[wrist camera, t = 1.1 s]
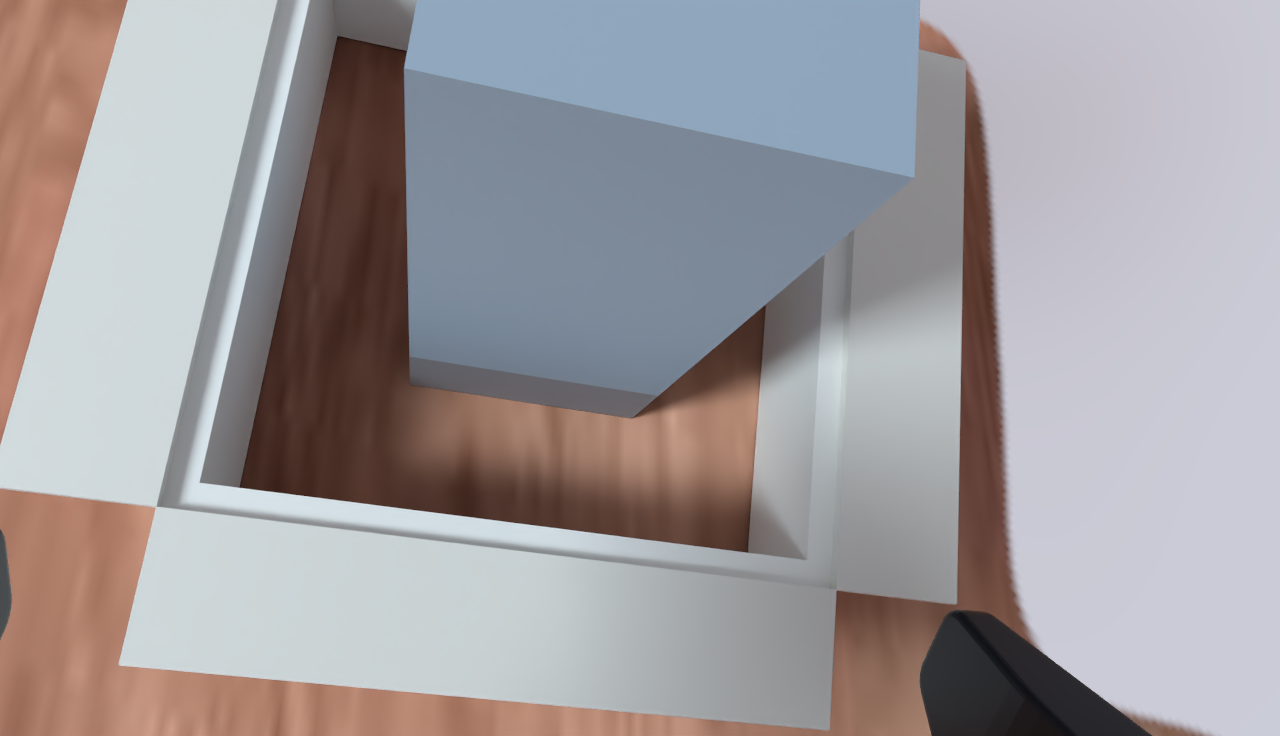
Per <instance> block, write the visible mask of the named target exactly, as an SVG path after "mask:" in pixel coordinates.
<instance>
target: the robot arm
mask: <svg viewBox="0 0 1280 736" xmlns="http://www.w3.org/2000/svg"><path fill="white" fill-rule="evenodd" d="M11 604H12V594H11V585H10V577H9V568H8V559H7V550H6V542H5V537H4V534H3V533H2V531H1V529H0V639H1V637H2V635H3V633H4V630H5V628H6V625H7V623H8V619H9V616H10V611H11ZM920 688H921V693H922V698H923V702H924V706H925V710H926V714H927V718H928V722H929V727H930V731H931V735H932V736H1152V735H1150V734H1149V733H1148V732H1146V731H1145V730H1144V729H1142V728H1141V727H1140V726H1138V725H1137V724H1136V723H1134V722H1133V721H1132V720H1130V719H1129V718H1128V717H1126V716H1125V715H1124V714H1123V713H1121V712H1120V711H1119V710H1117V709H1116V708H1115V707H1113V706H1112V705H1111V704H1109V703H1108V702H1107V701H1105V700H1104V699H1103V698H1101V697H1100V696H1099V695H1097V694H1096V693H1095V692H1093V691H1092V690H1091V689H1089V688H1088V687H1087V686H1085V685H1084V684H1083V683H1081V682H1080V681H1079V680H1077V679H1076V678H1075V677H1073V676H1072V675H1071V674H1070V673H1068V672H1067V671H1066V670H1064V669H1063V668H1062V667H1060V666H1059V665H1058V664H1056V663H1055V662H1054V661H1052V660H1051V659H1050V658H1048V657H1047V656H1046V655H1044V654H1043V653H1042V652H1040V651H1039V650H1038V649H1036V648H1035V647H1034V646H1033V645H1031V644H1030V643H1029V642H1027V641H1026V640H1025V639H1023V638H1022V637H1021V636H1019V635H1018V634H1017V633H1015V632H1014V631H1013V630H1011V629H1010V628H1009V627H1007V626H1006V625H1005V624H1003V623H1002V622H1001V621H999V620H998V619H997V618H995V617H994V616H993V615H991V614H989V613H985V612H978V611H967V610H954V611H951V612H949V613H948V614H947V615H946V616H945V617H944V619H943V621H942V623H941V625H940V627H939V629H938V632H937V634H936V636H935V638H934V640H933V642H932V645H931V647H930V649H929V651H928V653H927V655H926V657H925V660H924V662H923V664H922V667H921V672H920Z"/></svg>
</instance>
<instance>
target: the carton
mask: <svg viewBox="0 0 1280 736" xmlns="http://www.w3.org/2000/svg"><path fill="white" fill-rule="evenodd" d="M416 3H417V0H128V2H127V6H126V9H125V13H124V16H123V20H122V23H121V27H120V30H119V34H118V37H117V41H116V44H115V48H114V51H113V55H112V58H111V62H110V65H109V69H108V72H107V76H106V79H105V82H104V86H103V89H102V93H101V96H100V100H99V103H98V107H97V110H96V114H95V117H94V121H93V124H92V128H91V131H90V135H89V138H88V142H87V145H86V149H85V152H84V156H83V159H82V163H81V166H80V170H79V173H78V177H77V180H76V184H75V187H74V191H73V194H72V198H71V201H70V205H69V208H68V211H67V215H66V218H65V222H64V225H63V229H62V232H61V236H60V239H59V243H58V246H57V250H56V253H55V257H54V260H53V264H52V267H51V271H50V274H49V278H48V281H47V285H46V288H45V292H44V295H43V299H42V302H41V306H40V309H39V313H38V316H37V320H36V323H35V327H34V330H33V334H32V337H31V340H30V344H29V347H28V351H27V354H26V358H25V361H24V365H23V368H22V372H21V375H20V379H19V382H18V386H17V389H16V393H15V396H14V400H13V403H12V407H11V410H10V414H9V417H8V421H7V424H6V428H5V431H4V435H3V438H2V442H1V445H0V489H7V490H15V491H23V492H32V493H40V494H48V495H56V496H64V497H73V498H81V499H89V500H97V501H105V502H114V503H122V504H130V505H138V506H146V507H155V508H156V510H155V514H154V519H153V523H152V527H151V531H150V535H149V539H148V544H147V548H146V552H145V556H144V560H143V565H142V569H141V573H140V577H139V581H138V586H137V590H136V594H135V598H134V602H133V606H132V611H131V615H130V619H129V623H128V627H127V632H126V636H125V640H124V644H123V648H122V653H121V657H120V661H119V665H121V666H132V667H142V668H153V669H164V670H175V671H186V672H197V673H208V674H219V675H230V676H241V677H251V678H262V679H273V680H284V681H295V682H306V683H317V684H328V685H339V686H350V687H360V688H371V689H382V690H393V691H404V692H415V693H426V694H437V695H448V696H459V697H469V698H480V699H491V700H502V701H513V702H524V703H535V704H546V705H557V706H568V707H578V708H589V709H600V710H611V711H622V712H633V713H644V714H655V715H666V716H677V717H687V718H698V719H709V720H720V721H731V722H742V723H753V724H764V725H775V726H786V727H796V728H807V729H818V730H829V731H830V712H831V692H832V672H833V652H834V631H835V611H836V591H843V592H851V593H859V594H868V595H876V596H884V597H892V598H900V599H908V600H917V601H925V602H933V603H941V604H957V572H958V513H959V454H960V395H961V336H962V277H963V218H964V159H965V100H966V61H965V60H961V59H957V58H953V57H949V56H944V55H940V54H936V53H932V52H928V51H924V50H920V49H919V51H918V83H917V114H916V145H915V177H914V179H912V180H911V181H910V182H909V183H908V184H906V185H905V186H904V187H903V188H902V189H901V190H899V191H898V192H897V193H896V194H895V195H894V196H892V197H891V198H890V199H889V200H888V201H887V202H885V203H884V204H883V205H882V206H881V207H879V208H878V209H877V210H876V211H875V212H874V213H872V214H871V215H870V216H869V217H868V218H867V219H865V220H864V221H863V222H862V223H861V224H860V225H858V226H857V227H856V228H855V229H854V230H852V231H851V232H850V233H849V234H848V235H847V236H845V237H844V238H843V239H842V240H841V241H840V242H838V243H837V244H836V245H835V246H834V247H833V248H831V249H830V250H829V251H828V252H827V253H825V254H824V255H823V256H822V257H821V258H820V259H818V260H817V261H816V262H815V263H814V264H813V265H811V266H810V267H809V268H808V269H807V270H806V271H804V272H803V273H802V274H801V275H800V276H798V277H797V278H796V279H795V280H794V281H793V282H791V283H790V284H789V285H788V286H787V287H786V288H784V289H783V290H782V291H781V292H780V293H779V294H777V295H776V296H775V297H774V298H773V299H771V300H770V301H769V302H768V303H767V304H766V313H765V326H764V340H763V353H762V367H761V380H760V394H759V407H758V420H757V434H756V447H755V461H754V474H753V488H752V501H751V515H750V528H749V541H748V553H746V552H738V551H730V550H723V549H715V548H707V547H699V546H691V545H683V544H676V543H668V542H660V541H652V540H644V539H636V538H629V537H621V536H613V535H605V534H597V533H590V532H582V531H574V530H566V529H558V528H550V527H543V526H535V525H527V524H519V523H511V522H503V521H496V520H488V519H480V518H472V517H464V516H456V515H449V514H441V513H433V512H425V511H417V510H410V509H402V508H394V507H386V506H378V505H370V504H363V503H355V502H347V501H339V500H331V499H323V498H316V497H308V496H300V495H292V494H284V493H276V492H269V491H261V490H253V489H245V488H239V487H240V483H241V478H242V473H243V469H244V464H245V460H246V455H247V450H248V446H249V441H250V437H251V432H252V427H253V423H254V418H255V414H256V409H257V404H258V400H259V395H260V391H261V386H262V381H263V377H264V372H265V367H266V363H267V358H268V354H269V349H270V344H271V340H272V335H273V331H274V326H275V321H276V317H277V312H278V308H279V303H280V298H281V294H282V289H283V285H284V280H285V275H286V271H287V266H288V262H289V257H290V252H291V248H292V243H293V238H294V234H295V229H296V225H297V220H298V215H299V211H300V206H301V202H302V197H303V192H304V188H305V183H306V179H307V174H308V169H309V165H310V160H311V156H312V151H313V146H314V142H315V137H316V132H317V128H318V123H319V119H320V114H321V109H322V105H323V100H324V96H325V91H326V86H327V82H328V77H329V73H330V68H331V63H332V59H333V54H334V50H335V45H336V40H337V36H341V37H345V38H350V39H355V40H359V41H364V42H368V43H373V44H378V45H382V46H387V47H391V48H396V49H400V50H405V51H407V50H408V45H409V40H410V34H411V29H412V24H413V19H414V14H415V9H416Z"/></svg>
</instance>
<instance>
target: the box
mask: <svg viewBox="0 0 1280 736" xmlns="http://www.w3.org/2000/svg"><path fill="white" fill-rule="evenodd" d="M919 20H920V0H417V3H416V9H415V14H414V19H413V24H412V29H411V34H410V40H409V45H408V50H407V55H406V60H405V65H404V96H405V149H406V202H407V256H408V309H409V362H410V385H415V386H422V387H428V388H435V389H441V390H448V391H455V392H461V393H468V394H474V395H481V396H487V397H494V398H500V399H507V400H514V401H520V402H527V403H533V404H540V405H546V406H553V407H560V408H566V409H573V410H579V411H586V412H592V413H599V414H605V415H612V416H619V417H625V418H633V417H634V416H635V415H637V414H638V413H639V412H640V411H641V410H642V409H644V408H645V407H646V406H647V405H648V404H649V403H651V402H652V401H653V400H654V399H655V398H656V397H658V396H659V395H660V394H661V393H662V392H663V391H665V390H666V389H667V388H668V387H669V386H671V385H672V384H673V383H674V382H675V381H676V380H678V379H679V378H680V377H681V376H682V375H683V374H685V373H686V372H687V371H688V370H689V369H690V368H692V367H693V366H694V365H695V364H696V363H698V362H699V361H700V360H701V359H702V358H703V357H705V356H706V355H707V354H708V353H709V352H710V351H712V350H713V349H714V348H715V347H716V346H717V345H719V344H720V343H721V342H722V341H723V340H725V339H726V338H727V337H728V336H729V335H730V334H732V333H733V332H734V331H735V330H736V329H737V328H739V327H740V326H741V325H742V324H743V323H744V322H746V321H747V320H748V319H749V318H750V317H752V316H753V315H754V314H755V313H756V312H757V311H759V310H760V309H761V308H762V307H763V306H764V305H766V304H767V303H768V302H769V301H770V300H771V299H773V298H774V297H775V296H776V295H777V294H779V293H780V292H781V291H782V290H783V289H784V288H786V287H787V286H788V285H789V284H790V283H791V282H793V281H794V280H795V279H796V278H797V277H798V276H800V275H801V274H802V273H803V272H804V271H806V270H807V269H808V268H809V267H810V266H811V265H813V264H814V263H815V262H816V261H817V260H818V259H820V258H821V257H822V256H823V255H824V254H825V253H827V252H828V251H829V250H830V249H831V248H833V247H834V246H835V245H836V244H837V243H838V242H840V241H841V240H842V239H843V238H844V237H845V236H847V235H848V234H849V233H850V232H851V231H852V230H854V229H855V228H856V227H857V226H858V225H860V224H861V223H862V222H863V221H864V220H865V219H867V218H868V217H869V216H870V215H871V214H872V213H874V212H875V211H876V210H877V209H878V208H879V207H881V206H882V205H883V204H884V203H885V202H887V201H888V200H889V199H890V198H891V197H892V196H894V195H895V194H896V193H897V192H898V191H899V190H901V189H902V188H903V187H904V186H905V185H906V184H908V183H909V182H910V181H911V180H912V179H914V177H915V145H916V114H917V83H918V51H919Z"/></svg>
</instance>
